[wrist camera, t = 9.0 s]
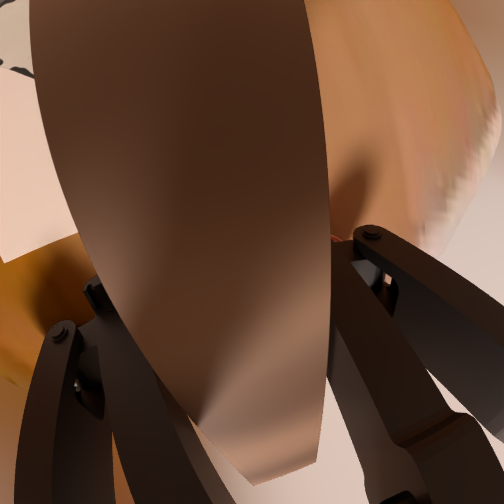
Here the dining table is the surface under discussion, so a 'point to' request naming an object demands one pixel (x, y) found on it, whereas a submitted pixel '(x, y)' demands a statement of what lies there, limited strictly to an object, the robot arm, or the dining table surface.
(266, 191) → the wooden bar
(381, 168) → the dining table surface
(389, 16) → the dining table surface
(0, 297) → the dining table surface
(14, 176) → the tool mat
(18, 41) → the candy bar box
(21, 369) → the dining table surface
